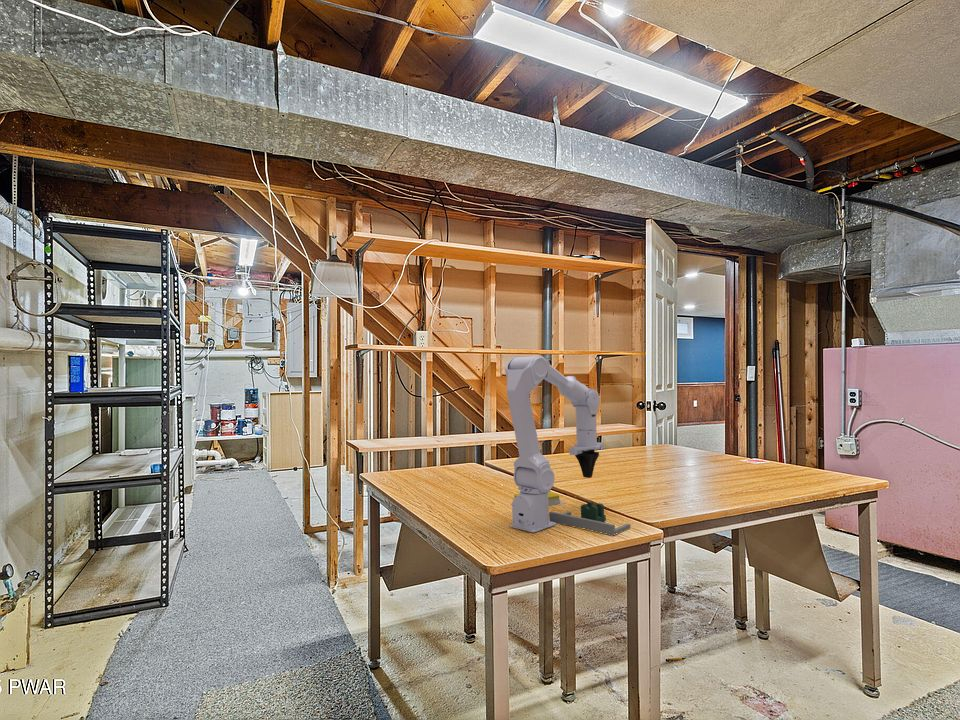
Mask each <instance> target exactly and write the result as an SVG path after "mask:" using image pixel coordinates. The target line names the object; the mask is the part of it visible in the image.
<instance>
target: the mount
mask: <svg viewBox="0 0 960 720" xmlns="http://www.w3.org/2000/svg"><path fill="white" fill-rule="evenodd" d="M606 516H607V515H606V514H605V506H604V504H603V503H597V504H596V505H595V504H594V502H593V501H588V502H587V503H584V504H581V505H580V517H581V518H586V519H590V520H595V521H600V522H604V521H605V522H606V520H607V517H606Z"/></svg>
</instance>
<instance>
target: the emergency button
mask: <svg viewBox="0 0 960 720" xmlns="http://www.w3.org/2000/svg"><path fill="white" fill-rule="evenodd" d="M519 494H520V493H515V494H514V496H513V497H514V498H515V497H516V496H518V495H519ZM514 498H513V499H514ZM564 503H565V504H566V501H563V500H560V495H559V494H557V493H553V492H551V491H550V492H548V506H549V507H554V506H559V505H558V504H560V505H564ZM510 504H511V506H512V502H510ZM510 504H509V505H510ZM553 505H554V506H553Z"/></svg>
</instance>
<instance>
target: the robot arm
mask: <svg viewBox="0 0 960 720" xmlns="http://www.w3.org/2000/svg"><path fill="white" fill-rule="evenodd" d="M504 371H505V375H506V396H507V401H508V405H509V411H510V416H511V421H512V425H513V426H512V427H513V430H514V435H515V436H514V437H515V441H516V446H517V450H518V457H517V458H516V459H515V460H514V462H513V468H514V470H513V481H514V483H515V484H516V486H517V490H518V491H519V493H518V494H519V495H518V496H516V497H515V498H513V500H512V502H511V503H512V505H511V507H512V508H511V509H512V510H511V511H512V512H511V513H512V514H511V515H512V516H511V517H512V524H510V525H509V527H511V528H514V529H517V530H521V531H525V532H529V533H533V534H534V533H537V532H540V531H543V530H545V529H548V528H551V527H554V526H556V525H557V523H555V522H550V521H549V512H550V511H549V509H550V508H549V507H550V506H549V507H548V492H551V489H552V488H553V486H554V484H555V480H556V479H555V472H554V470H553V469H552V468H551V465H550V460H549V459H547V458H546V456H545V455H543V454H542V453H541V449H540V443H539V439H538V432H537V428H536V423H535V419H534V414H533V413H534V412H533V408H532V402H531V399H530V398H531V397H530V394H531V392H532V391H533V390H535V389H536V387H538V386H539V385H540V384H541V382H542V381H543V380H544V381H546V382H548V383H550V384H552V385H553V386H555V387H557V391H558V393H559V394H561V395H562V396H564V397H565V398H566V399H568V400H570V402H571V405H572V407H573V408H575V425H576V428H575V429H576V430H575V431H576V432H575V435H576V445H573V446H571V447H568V449H569V450H568V451H569V455H570V456H571V455H572V456H575V458H576V459H577V461H578V463H579V466H580V469H581V472H582V476H583V478H587V479H590V478H592V477H593V474H594V469H595V465H596V461H597V460H598V457H599V456H600V450H604V442H598V439H597V437H598V436H597V434H598V433H597V414H598V412H599V410H598V409H599V405H600V403H601V397H600V394H599V393H598V391H597V390H596V389H594V388H588V387H587V386H586V384H585V383H582V382H580V381H579V380H577V377H575V375H568V376H565V375H563V374H562V373H561V372H560V371H558V370H557V369H556V368H555V367H554V366H553V365H551V364H550V360H549V359H547V358H545V357H544V356H542V355H535V356H533V355H532V356H513V357H511V358H510V359H509V361H507V363H506V366H505V367H504ZM598 450H599V452H598Z"/></svg>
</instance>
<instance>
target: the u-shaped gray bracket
mask: <svg viewBox="0 0 960 720" xmlns="http://www.w3.org/2000/svg"><path fill="white" fill-rule="evenodd" d="M549 521H550V522H555V523H556V524H558V523H560V524H559V525H562V524H565V525H564V526H567V525H570V526H569V527H571V526H575V527H574V528H576V527H580V528H585V529H589V530H593V531H597V532H602V533H607V534H610V535H614V534H616V533H619V532H621V531H623V532H625V531H627V529H628V530H629V529H631V523H625V524H622V525H620V526H618V527H616V525H615V524H613V523H608V522H606V521H605V522H600V521H595V520H590V519H586V518H581V516H575V515H572V512H571V511H565V512H562V513H561V512H556V511H549ZM580 528H579V529H580ZM589 530H588V531H589ZM624 530H625V531H624ZM593 531H592V532H593ZM597 532H596V533H597ZM602 533H601V534H602ZM621 533H622V532H621ZM619 534H620V533H619ZM610 535H609V536H610ZM616 535H617V534H616ZM614 536H615V535H614Z"/></svg>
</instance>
